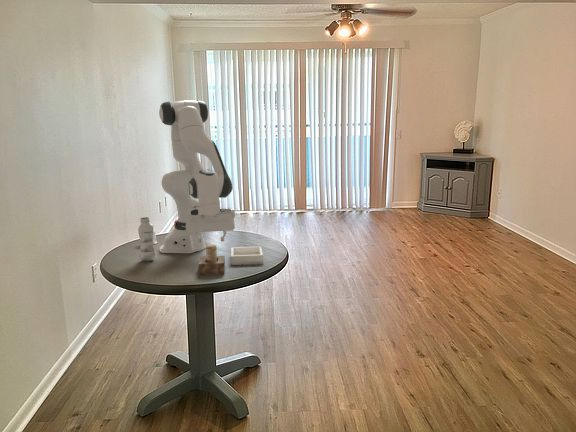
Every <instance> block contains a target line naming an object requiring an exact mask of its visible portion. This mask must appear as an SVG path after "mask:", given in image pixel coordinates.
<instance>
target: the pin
mask: <svg viewBox="0 0 576 432" xmlns="http://www.w3.org/2000/svg"><path fill="white" fill-rule="evenodd" d="M217 249H218V247H217V245H216V244H208V245H206V248H205V253H206V259H207V262H217V256H218V254H217V253H218V251H217Z"/></svg>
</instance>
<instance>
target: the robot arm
mask: <svg viewBox="0 0 576 432" xmlns="http://www.w3.org/2000/svg"><path fill="white" fill-rule="evenodd" d="M158 115H159V119H160V120H161V123H162V124H163V125H166V126H170V127H171V129H170V136H171V137H170V138H171V148H172V155H173V158H174V159H175V161H177V162H179V163H181V164H182V165H183V166H184V170H173V171H170V172H167V173H164V175H163V176H162V179H161V187H162V189H163V191H164V192H165V193H166V194H168V195H170V197H171V198H172V199H173V200H174V203H175V205H176V210H177V216H178V219H175V220H174V223H173V224H174V229H172V230H171V231H170V232H169V233H168V234H166V235H165V237H164V240H163V244H162V245H160V246H159V252H160V253H161V254H193V253H195V252H199V251H203V250H204V249H205V250H206V246H207V245H206V243H205V239H204V235H203V234H204V233H209V232H222V233H223V235H222V236H220V242H225V237H226V235H227V233H228V232H231V231H234V230H235V227H236V226H235V217H236V211H235V210H233V209H232V208H221V200H220V198H227V197H229V195H230V194H231V193H232V191H233V182H232V180H231V178H230V176H229V173H228V172H227V169H226V166H225V165H224V162H223V159H222V156H221V153H220V152H219V151H220V150H219V149H218V146H217V145H216V143H215V141H213V140H212V139H210V137H209V135H208V134H207V133H206V131H205V127H204V123H205V122H206V121H207V120H208V116H209V108H208V105H207V103H206V102H205V101H204V100H199V99H198V100H191V99H190V100H188V99H183V100H174V101H165V102H162V103H161V104H160V107H159V110H158ZM198 154H200V155H202V156H205V157H206V158H207V159H208V160H209V161H210V162H211V166H212V168H213V169H207V168H206V167H205V166H204V165H203V164H202V163H201V161H200V158H199V156H198ZM191 197H192V198H191ZM196 199H197V200H198V201H197V200H196Z"/></svg>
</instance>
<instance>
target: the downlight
mask: <svg viewBox="0 0 576 432" xmlns="http://www.w3.org/2000/svg"><path fill="white" fill-rule="evenodd" d="M150 225H151V226H152V227H153V245H155V244H158V241H157V237H156V236H157V235H156V230H155V228H154V227H155V225H154V223H150Z"/></svg>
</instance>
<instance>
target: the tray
mask: <svg viewBox="0 0 576 432" xmlns="http://www.w3.org/2000/svg"><path fill="white" fill-rule="evenodd" d="M230 250H231V251H230V263H231V266H237V265H239V266H240V265H242V264H243V265H262V264H264V253H263V249H262V246H258V245H257V246H235V247H233V246H232V247H231V248H230Z"/></svg>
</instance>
